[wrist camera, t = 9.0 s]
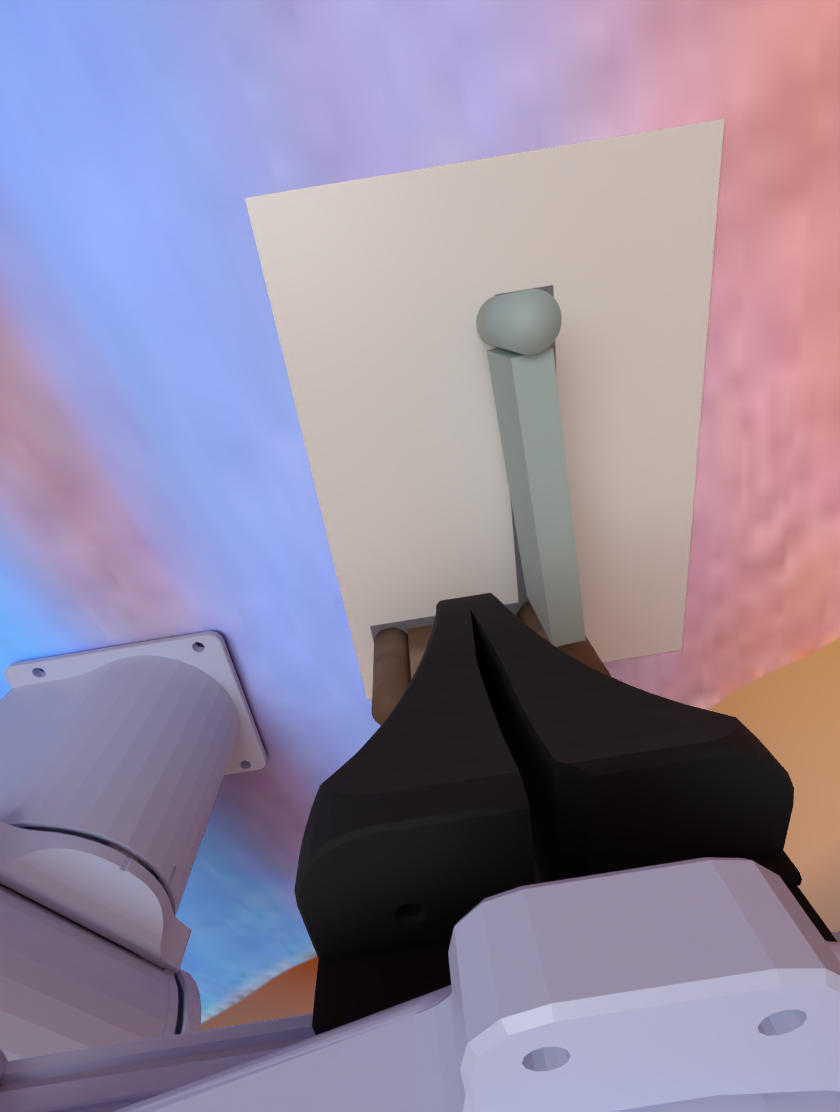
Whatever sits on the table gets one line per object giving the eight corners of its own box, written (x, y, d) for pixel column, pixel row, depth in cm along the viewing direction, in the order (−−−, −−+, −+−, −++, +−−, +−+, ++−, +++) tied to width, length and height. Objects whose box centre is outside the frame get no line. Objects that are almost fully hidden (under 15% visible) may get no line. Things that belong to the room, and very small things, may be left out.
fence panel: (558, 588, 22) (595, 645, 18) (522, 597, 22) (550, 655, 18) (519, 289, 17) (558, 282, 13) (472, 301, 17) (497, 297, 13)
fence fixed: (379, 666, 24) (377, 761, 19) (369, 622, 23) (364, 709, 18) (569, 635, 24) (619, 722, 19) (567, 590, 23) (620, 669, 18)
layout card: (367, 695, 25) (367, 700, 24) (247, 200, 16) (244, 197, 16) (678, 646, 25) (682, 650, 24) (718, 121, 16) (725, 118, 16)
